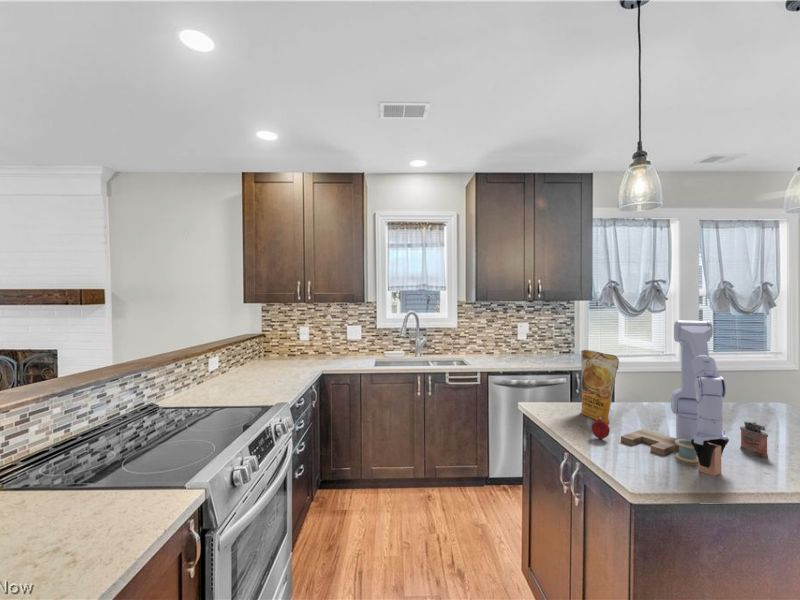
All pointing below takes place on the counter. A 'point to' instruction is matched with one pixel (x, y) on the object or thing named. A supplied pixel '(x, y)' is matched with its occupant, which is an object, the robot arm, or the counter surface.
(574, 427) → the counter surface
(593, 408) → the pancake mix bag
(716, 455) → the peg
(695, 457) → the spool
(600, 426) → the onion
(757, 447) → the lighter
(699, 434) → the robot arm
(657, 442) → the notched board
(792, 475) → the counter surface
